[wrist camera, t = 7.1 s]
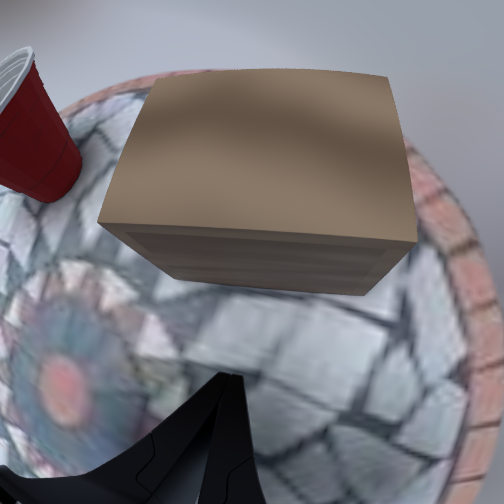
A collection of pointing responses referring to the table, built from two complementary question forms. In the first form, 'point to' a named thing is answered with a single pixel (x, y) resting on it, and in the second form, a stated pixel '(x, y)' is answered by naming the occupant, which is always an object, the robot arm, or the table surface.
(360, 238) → the brown box
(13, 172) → the plastic cup
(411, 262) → the table surface
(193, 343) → the table surface
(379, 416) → the table surface
